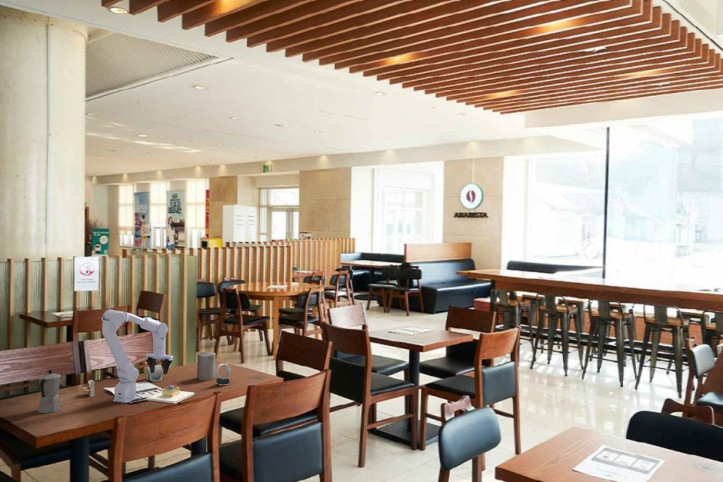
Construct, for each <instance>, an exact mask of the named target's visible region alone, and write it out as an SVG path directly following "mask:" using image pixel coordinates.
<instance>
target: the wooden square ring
mask: <svg viewBox="0 0 723 482" xmlns="http://www.w3.org/2000/svg"><path fill="white" fill-rule="evenodd" d="M180 389H181V388H180V386H174V389H172V390H171V389H168V386H166V387H164V388H162V389H161V392H162V396H165V397H175V396H177V395H179V394H180V391H181V390H180Z"/></svg>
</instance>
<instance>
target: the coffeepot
mask: <svg viewBox="0 0 723 482" xmlns="http://www.w3.org/2000/svg"><path fill="white" fill-rule="evenodd" d="M47 371H48V373H47V374H43V375H40V376H38V382H39V387H40V388H39V390H40V393H41V394H40V395H41V396H40V400H39V406H38V413H40V414H51V413H56V412H59V411H60V410H61V403H60V402H61V401H60V398H59V397H60V396H59V390H60V385H61V384H60V383H61V379H62V374H58V373H52V372H53V370H52V369H48V370H47Z"/></svg>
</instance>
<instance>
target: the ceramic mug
mask: <svg viewBox="0 0 723 482" xmlns="http://www.w3.org/2000/svg"><path fill="white" fill-rule="evenodd" d="M143 371H144V372H143V375H144V379H145V380H147V381H151V382H152V383H160V382H161V381H162V380H163V377H164V373H163V365H161V364H155V372H154V373H151V372H150V368H149V366H147V367H145V368H144V370H143Z"/></svg>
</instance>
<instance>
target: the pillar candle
mask: <svg viewBox="0 0 723 482" xmlns="http://www.w3.org/2000/svg"><path fill="white" fill-rule="evenodd" d="M216 354H217V353H216V352H213V351H201V352H198V353H197V362H196V363H197V367H196V369H197V371H196V373H197V374H196V379H197V380H198V379H199V380H198V381H210V380H209V379H212V380H214V379H213V378H215V379H216Z"/></svg>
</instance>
